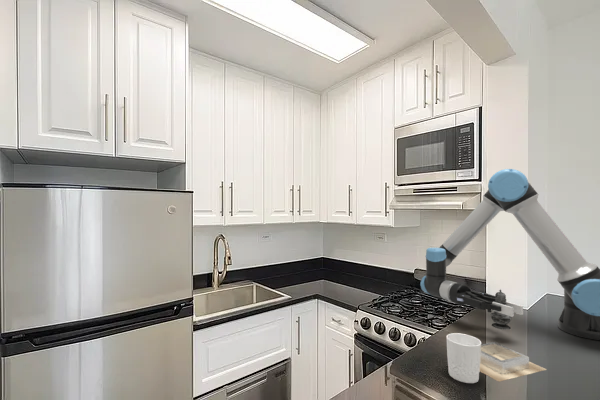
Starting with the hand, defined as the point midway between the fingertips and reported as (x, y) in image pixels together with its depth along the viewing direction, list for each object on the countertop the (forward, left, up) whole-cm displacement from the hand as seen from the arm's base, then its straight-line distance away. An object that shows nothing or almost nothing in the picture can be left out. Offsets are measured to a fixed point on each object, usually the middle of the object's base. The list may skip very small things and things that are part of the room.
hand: (517, 311), depth 97 cm
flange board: (+15, +5, -12) cm, 20 cm away
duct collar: (+15, +5, -11) cm, 19 cm away
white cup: (+30, +7, -12) cm, 33 cm away
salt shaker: (0, -5, -7) cm, 9 cm away
